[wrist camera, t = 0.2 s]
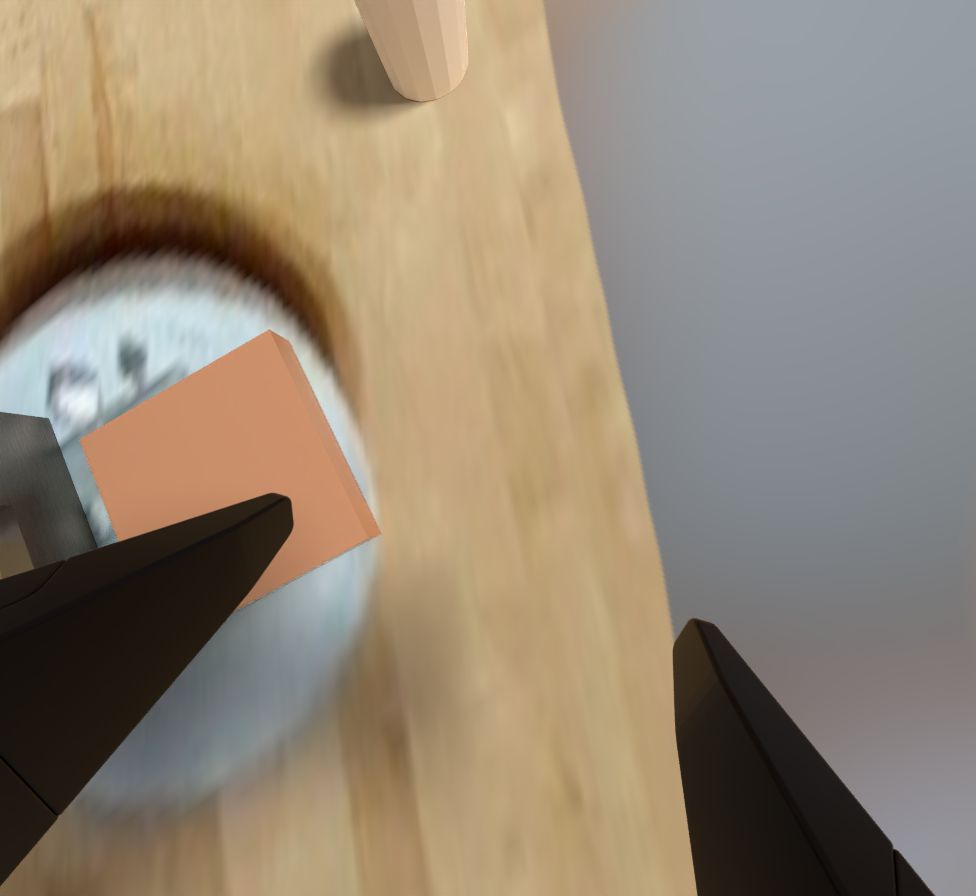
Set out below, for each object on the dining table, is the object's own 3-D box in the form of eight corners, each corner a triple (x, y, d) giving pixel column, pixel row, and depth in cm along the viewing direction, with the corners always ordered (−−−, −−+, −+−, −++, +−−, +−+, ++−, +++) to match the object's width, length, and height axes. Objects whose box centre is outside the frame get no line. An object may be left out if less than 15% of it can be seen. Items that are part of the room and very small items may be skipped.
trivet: (381, 533, 24) (367, 538, 22) (190, 636, 25) (160, 649, 23) (289, 341, 26) (268, 329, 24) (113, 442, 26) (79, 439, 24)
